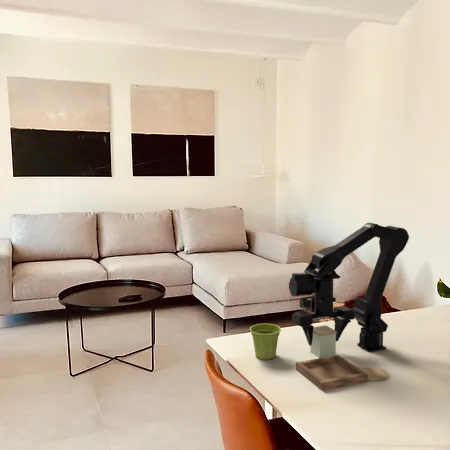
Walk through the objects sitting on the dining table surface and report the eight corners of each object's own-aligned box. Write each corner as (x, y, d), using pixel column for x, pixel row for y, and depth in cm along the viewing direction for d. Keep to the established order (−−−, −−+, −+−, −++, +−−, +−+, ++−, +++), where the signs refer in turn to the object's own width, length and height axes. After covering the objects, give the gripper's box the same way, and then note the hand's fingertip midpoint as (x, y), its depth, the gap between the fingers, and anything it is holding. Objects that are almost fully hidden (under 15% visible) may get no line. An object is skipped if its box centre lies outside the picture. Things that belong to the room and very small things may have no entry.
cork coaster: (370, 366, 138) (370, 364, 138) (394, 376, 131) (394, 374, 131) (352, 373, 133) (352, 371, 133) (375, 383, 127) (375, 382, 127)
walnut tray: (338, 361, 141) (338, 355, 141) (367, 381, 128) (367, 374, 128) (295, 369, 137) (295, 362, 136) (321, 390, 123) (321, 382, 123)
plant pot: (279, 363, 141) (279, 334, 140) (247, 361, 143) (247, 333, 142) (282, 351, 150) (282, 324, 149) (252, 349, 152) (252, 322, 151)
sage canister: (326, 349, 151) (326, 325, 150) (336, 356, 146) (336, 331, 145) (309, 352, 149) (309, 327, 148) (319, 358, 144) (319, 333, 143)
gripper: (335, 284, 156) (335, 330, 158) (283, 290, 150) (283, 338, 151) (355, 292, 145) (355, 342, 147) (301, 299, 139) (301, 351, 141)
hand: (323, 343), depth 147 cm, fingers open, 9 cm apart
